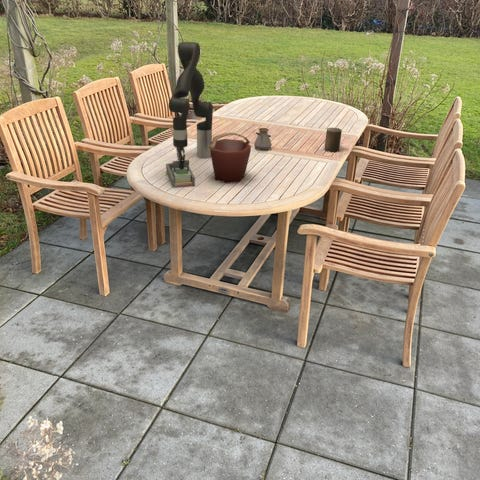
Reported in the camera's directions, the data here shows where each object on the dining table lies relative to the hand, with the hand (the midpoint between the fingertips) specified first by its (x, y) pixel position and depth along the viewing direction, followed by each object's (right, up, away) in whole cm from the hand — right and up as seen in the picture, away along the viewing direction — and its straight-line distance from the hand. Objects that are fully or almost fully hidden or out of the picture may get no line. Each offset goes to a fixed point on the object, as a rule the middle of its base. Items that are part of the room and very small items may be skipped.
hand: (181, 168), depth 271 cm
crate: (0, -6, +3) cm, 7 cm away
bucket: (+25, -3, +13) cm, 28 cm away
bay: (-2, -5, +8) cm, 9 cm away
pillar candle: (+92, +20, +58) cm, 110 cm away
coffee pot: (+45, +18, +52) cm, 71 cm away
